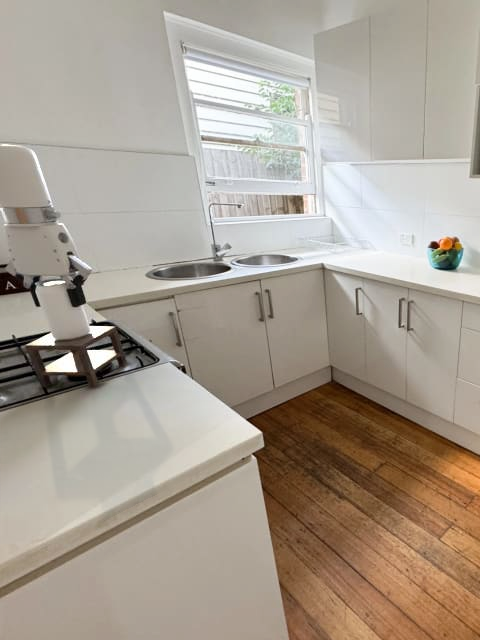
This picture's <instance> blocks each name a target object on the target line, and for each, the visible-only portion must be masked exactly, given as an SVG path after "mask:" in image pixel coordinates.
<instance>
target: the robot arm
mask: <svg viewBox="0 0 480 640" xmlns="http://www.w3.org/2000/svg"><path fill="white" fill-rule="evenodd" d="M0 214H1V216H2V219H3V222H4V224H3V233H4V238H5V244H6V247H7V250H8V253H9V257H10V261H9V263H8V264H7V265H6V267H5V268H4V269H5V271H6V272H7V273H8V274H10V275H12V276H13V277H14V278H15V279H16V280H17V281H18V282H20V283H21V284H23V287H24V288H26V289H28V290H29V292H30V295H31V298H32V300H33V303H34V305H35V306H34V307H36V308H41V306H40V303H39V300H38V298H37V295H36V292H35V291H36V284H35V283H37V282H39V281H43V277H59V278H62V280H63V281H64V282H65V283H66V285H67V286H68V287H69V289H67V293H68V296H69V299H70V302H71V305H72V307H79V306H81V305H83V306H84V305H86V304H87V298H86V295H85V292H84V290H83V286H84V285H85V282H86V281H87V280H88V277H89V276H90V275H91V273H92V271H93V269H92V267H90V266H89V265H88V264H86V263H85V262H83V261H82V259H81V256H80V254H79V250H78V249H77V246H76V244H75V242H74V240H73V238H72V235H71V233H70V232H69V230H68V229H67V227H66V225H65V224H64V223H63V222H60V223H59V220H58V219H61V217H62V216H61V212H60V211H58V210H55V207H54V204H53V202H52V198H51V196H50V192H49V190H48V187H47V184H46V180H45V178H44V175H43V171H42V169H41V166H40V163H39V159H38V157H37V154H36V153H35V152H34V151H33V149H31V148H29V147H27V146H23V145H14V144H13V145H12V144H0Z"/></svg>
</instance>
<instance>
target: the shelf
mask: <svg viewBox="0 0 480 640" xmlns="http://www.w3.org/2000/svg"><path fill="white" fill-rule="evenodd" d="M89 326H90V329H91V331H90V333H89V334H88V335H86V336H84V337H81V338H77V339H72V340H56V339H55V338H53V337H52V334H51V332H50V333H48V334H46V335H44V336H42V337H39V338H37V339H36V340H33V341H31V342H28V343H27V344H25V345H24V347H25V350H26V353H27V355H28V357H29V359H30V362H31V364H32V367H33V369H34V371H35V374H36V376H37V379H38V381H39V384H40V386H41V388H49V387H51V386H53V383H52V381H51V379H50V376H85V378H86V380H87V383H88V386H89V388H97V387H98V386H99V385H100V383H99V380H98V378H97V375H96V373H97V372H98V371H100V370H101V369H103V368H105V367H106V366H107V365H109V364H111V363H113V362H114V361H115V360H117V363H118V366H119V368H120V367H121V368H123V367H126V366H128V361H127V358H126V356H125V351H124V349H123V345H122V342H121V340H120V335H119V333H118V328H117V326H115V325H113V326H108V325H102V326H101V325H89ZM107 336H108V337H109V338H110V342H111V344H112V345H111V346H112V348H113V349H112V350H111V349H109V350H107V349H105V350H103V349H100V350H97V349H92V350H91V349H90V350H89V349H88V347H91V346H92V345H93V344H96V343H97V342H99V341H101V340H103V339H104V338H106V337H107ZM40 350H41V351H45V350H46V351H69V350H70V352H69V353H68V354H65V355H63V356H62V357H60V358H58V359H57V360H55V361H53V362H51V363H50V364H48V365H46V366H45V364H44V361H43V358H42V356H41V353H40Z"/></svg>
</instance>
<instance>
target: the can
mask: <svg viewBox="0 0 480 640" xmlns="http://www.w3.org/2000/svg"><path fill="white" fill-rule="evenodd" d="M35 284H36V291H35V292H36V295H37V298H38V300H39V303H40V306H41V307H40V308H41V311H42V314H43V316H44V319H45V321H46V324H47V327H48V330H49V331H50V333H51V334H52V337H53V338H55V339H56V340H72V339H77V338H81V337H84V336H86V335H88V334H89V333H90V331H91V329H90V326H91V325H90V322H89V320H88V317H87V314H86V311H85V308H84V305H81V306H79V307H72V305H71V302H70V299H69V296H68V293H67V289H69V287H68V286H67V285H66V283H65V282H64V281H63V280H62V278H61V277H59V278H58V277H57V278H50V279H44V280H43V279H42V281H39V282H37V283H35Z"/></svg>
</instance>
